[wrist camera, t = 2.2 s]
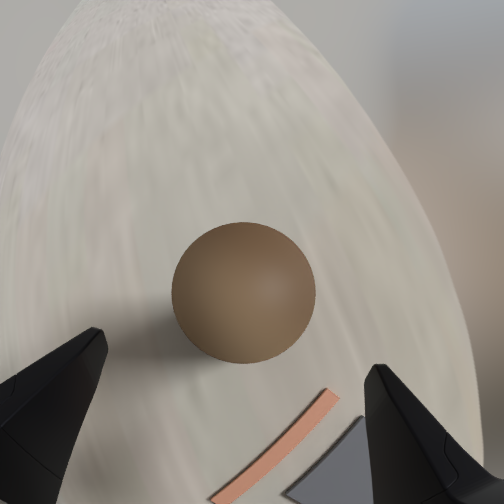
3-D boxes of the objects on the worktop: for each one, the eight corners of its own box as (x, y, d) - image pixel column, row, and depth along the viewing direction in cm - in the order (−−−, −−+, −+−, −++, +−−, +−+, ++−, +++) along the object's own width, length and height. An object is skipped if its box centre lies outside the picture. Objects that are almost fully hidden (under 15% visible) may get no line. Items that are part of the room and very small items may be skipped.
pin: (247, 365, 18) (249, 393, 8) (198, 320, 19) (143, 293, 9) (291, 316, 19) (343, 283, 9) (242, 274, 20) (239, 197, 10)
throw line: (223, 506, 15) (223, 508, 14) (210, 498, 15) (210, 500, 15) (338, 397, 18) (340, 398, 17) (326, 387, 18) (327, 388, 18)
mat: (369, 533, 13) (371, 535, 13) (285, 492, 15) (286, 494, 15) (433, 466, 15) (436, 467, 15) (361, 415, 17) (363, 416, 17)
